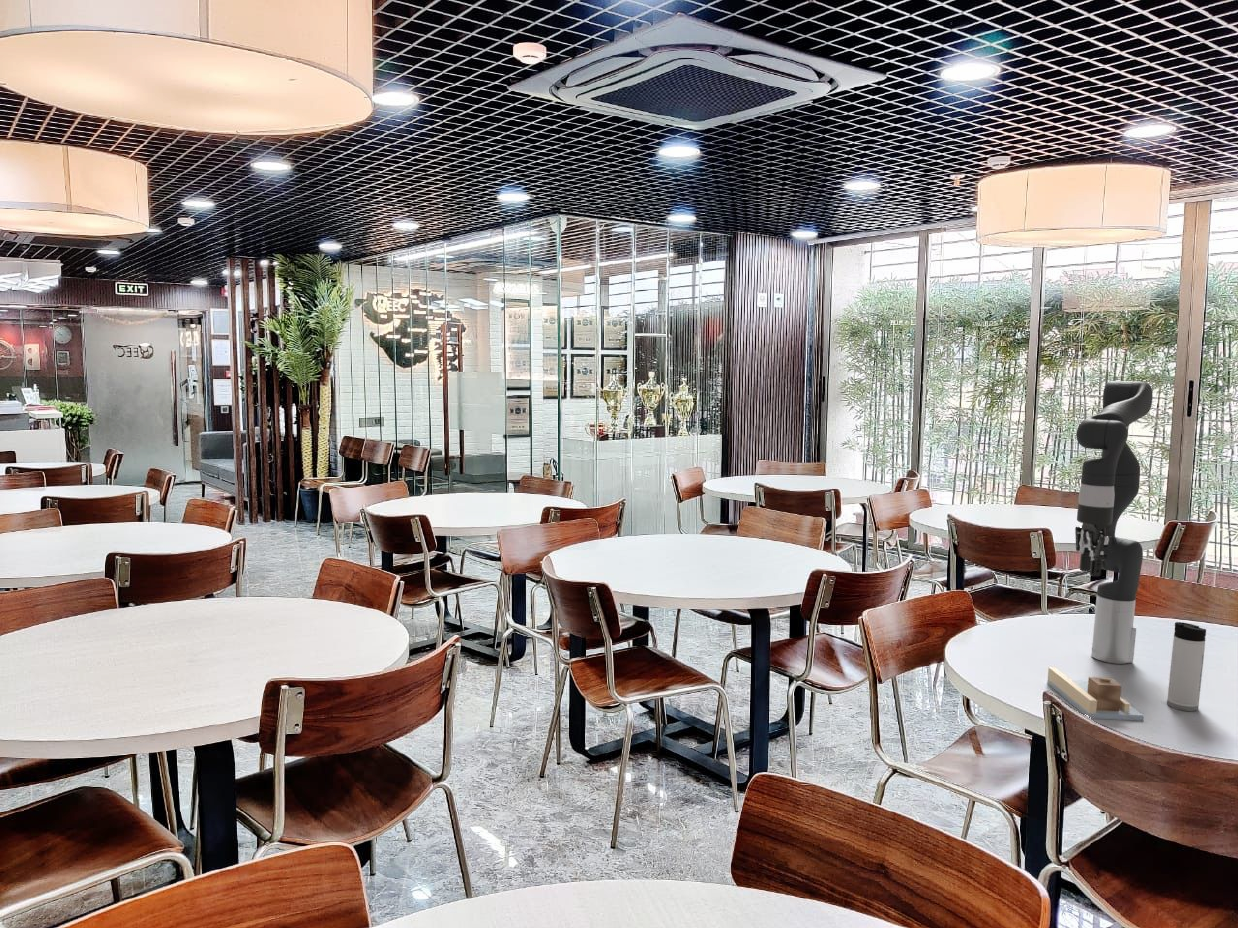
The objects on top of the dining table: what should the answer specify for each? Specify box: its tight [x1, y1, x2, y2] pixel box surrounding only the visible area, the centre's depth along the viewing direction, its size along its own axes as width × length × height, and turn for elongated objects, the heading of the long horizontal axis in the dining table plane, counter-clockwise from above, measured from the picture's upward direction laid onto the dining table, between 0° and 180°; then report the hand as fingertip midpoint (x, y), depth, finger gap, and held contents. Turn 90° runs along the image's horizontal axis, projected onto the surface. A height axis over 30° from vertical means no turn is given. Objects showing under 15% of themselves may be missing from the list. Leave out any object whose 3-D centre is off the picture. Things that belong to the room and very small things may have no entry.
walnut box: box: [1087, 676, 1122, 711], centre depth 207 cm, size 5×5×7 cm
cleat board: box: [1046, 666, 1145, 722], centre depth 213 cm, size 12×22×4 cm, turn 177°
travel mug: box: [1166, 621, 1207, 712], centre depth 210 cm, size 6×7×20 cm
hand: (1089, 572), depth 217 cm, fingers open, 4 cm apart
